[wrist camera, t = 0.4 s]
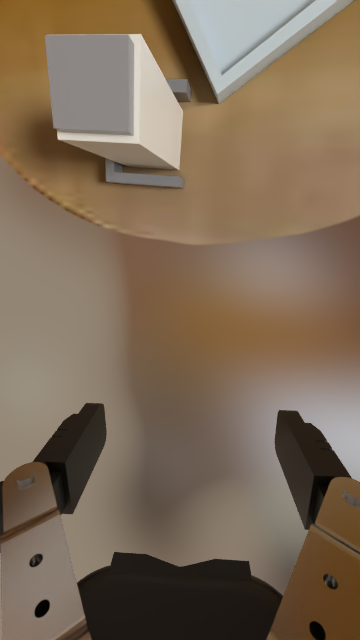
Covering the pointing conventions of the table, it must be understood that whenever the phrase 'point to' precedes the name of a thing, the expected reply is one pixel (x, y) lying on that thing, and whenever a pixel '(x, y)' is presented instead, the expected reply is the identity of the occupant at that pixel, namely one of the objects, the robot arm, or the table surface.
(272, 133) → the table surface
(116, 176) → the dock
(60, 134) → the box
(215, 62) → the tray
